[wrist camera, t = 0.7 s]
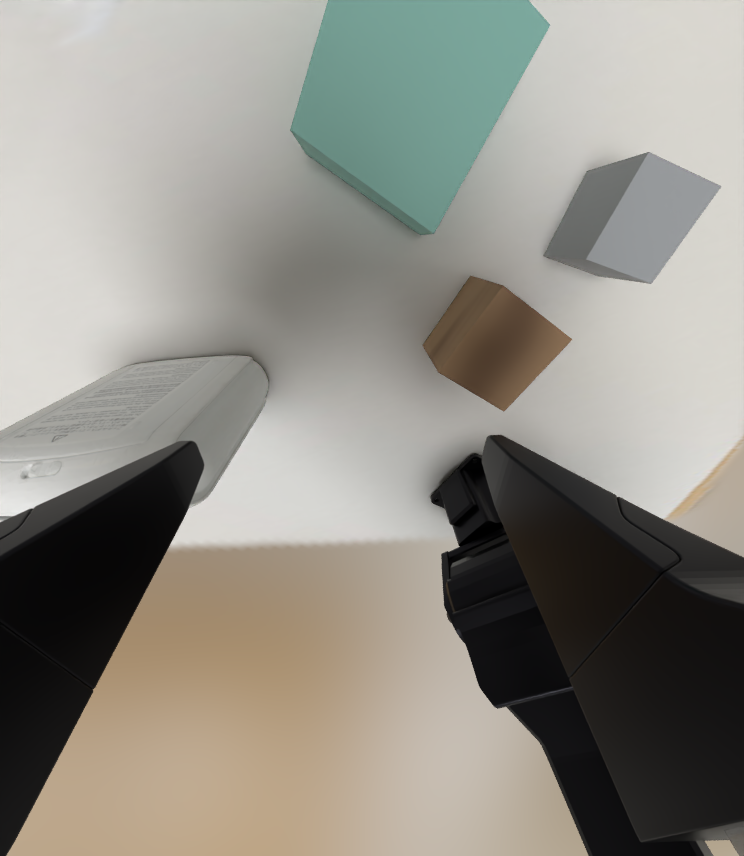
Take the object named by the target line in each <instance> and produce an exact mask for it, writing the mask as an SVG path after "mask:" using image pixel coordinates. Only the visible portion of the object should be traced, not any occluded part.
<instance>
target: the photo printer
mask: <svg viewBox="0 0 744 856" xmlns="http://www.w3.org/2000/svg"><path fill="white" fill-rule="evenodd" d="M268 387H269V384H268V378H267V376H266V374H265V372H264V370H263V369H262V367H261V366H260V365H259V364H258V363H257V362H255V361H253V358H252V357H249V356H238V355H228V356H211V357H198V358H186V359H175V360H164V361H154V362H146V363H140V364H134V365H130V366H127V367H124V368H121V369H118V370H116V371H114V372H112V373H110V374H108V375H106V376H104V377H102V378H100V379H99V380H97V381H95V382H93V383H91V384H89V385H87V386H85V387H83V388H82V389H80V390H78V391H76V392H74V393H72V394H70V395H68V396H66V397H65V398H63V399H61V400H59V401H57V402H55V403H53V404H51V405H49V406H47V407H45V408H43V409H41V410H40V411H38V412H36V413H34V414H32V415H30V416H28V417H26V418H24V419H22V420H20V421H18V422H16V423H15V424H13V425H11V426H9V427H7V428H5V429H3V430H2V431H0V522H1V521H4V520H6V519H8V518H10V517H13V516H15V515H17V514H19V513H21V512H24V511H26V510H28V509H31V508H33V509H34V507H35V506H37V505H39V504H41V503H44V502H46V501H48V500H50V499H52V498H55V497H57V496H59V495H61V494H63V493H66V492H68V491H70V490H72V489H74V488H77V487H79V486H81V485H83V484H85V483H88V482H90V481H92V480H94V479H96V478H99V477H101V476H103V475H105V474H107V473H110V472H112V471H114V470H116V469H118V468H121V467H123V466H125V465H127V464H129V463H132V462H134V461H136V460H138V459H140V458H143V457H145V456H147V455H149V454H152V453H154V452H156V451H158V450H160V449H163V448H165V447H167V446H169V445H171V444H174V443H176V442H178V441H194V442H195V443H196V444H197V446H198V448H199V451H200V453H201V456H202V458H203V461H204V470H203V473H202V475H201V478H200V480H199V483H198V486H197V488H196V491H195V493H194V496H193V498H192V501H191V503H190V506H189V508H190V507H193V506H195V505H197V504H199V503H201V502H202V501H203V500H205V499H206V498H207V497H208V496H209V495H210V493H211V492H212V491H213V489H214V487H215V486H216V484H217V483H218V481H219V479H220V478H221V476H222V475H223V473H224V471H225V470H226V468H227V467H228V465H229V463H230V462H231V460H232V458H233V457H234V455H235V454H236V452H237V450H238V449H239V447H240V446H241V444H242V442H243V441H244V439H245V437H246V436H247V434H248V432H249V431H250V429H251V427H252V426H253V424H254V423H255V421H256V419H257V418H258V416H259V414H260V412H261V411H262V409H263V407H264V406H265V403H266V399H265V396H266V394H267V392H268Z"/></svg>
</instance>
